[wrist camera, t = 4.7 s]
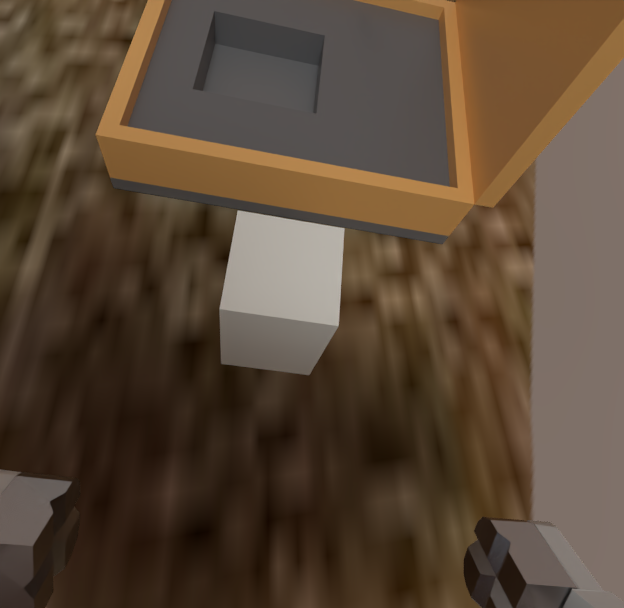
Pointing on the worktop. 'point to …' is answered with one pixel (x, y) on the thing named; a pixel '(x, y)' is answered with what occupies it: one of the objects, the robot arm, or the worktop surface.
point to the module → (280, 293)
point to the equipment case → (352, 103)
